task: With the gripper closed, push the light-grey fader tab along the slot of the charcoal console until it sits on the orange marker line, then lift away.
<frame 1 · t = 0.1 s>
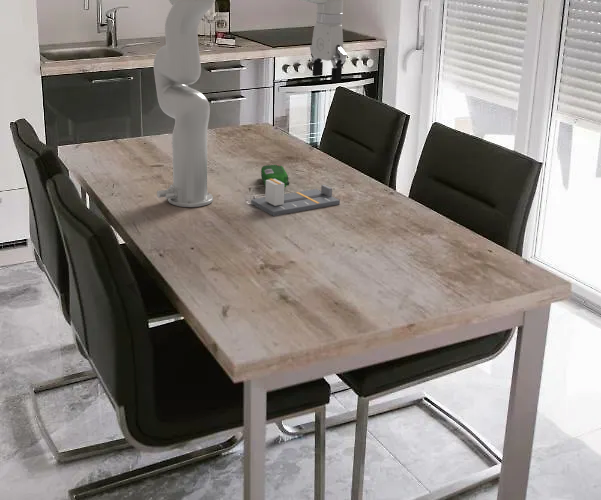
hand: (326, 78, 265), 31 cm above the table, fingers open, 9 cm apart
fader tab: (274, 191, 249), point 5 cm above the table, slide at 0.0 cm
snack package: (274, 186, 270), on the table
console: (295, 203, 254), on the table
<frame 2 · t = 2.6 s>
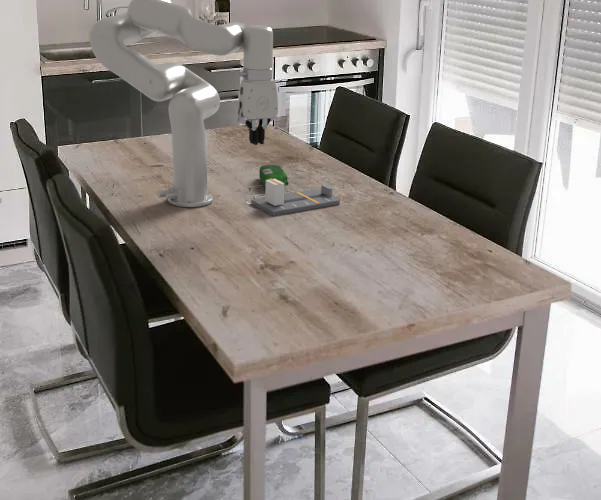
hand: (256, 143, 240), 19 cm above the table, fingers closed
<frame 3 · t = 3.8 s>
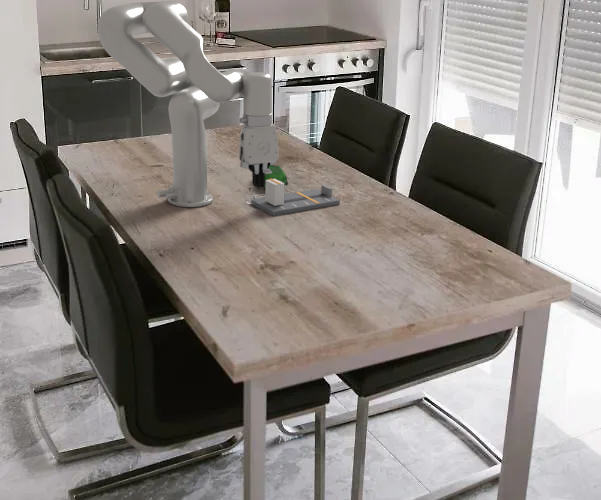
hand: (258, 186, 244), 7 cm above the table, fingers closed
nothing on the table moved.
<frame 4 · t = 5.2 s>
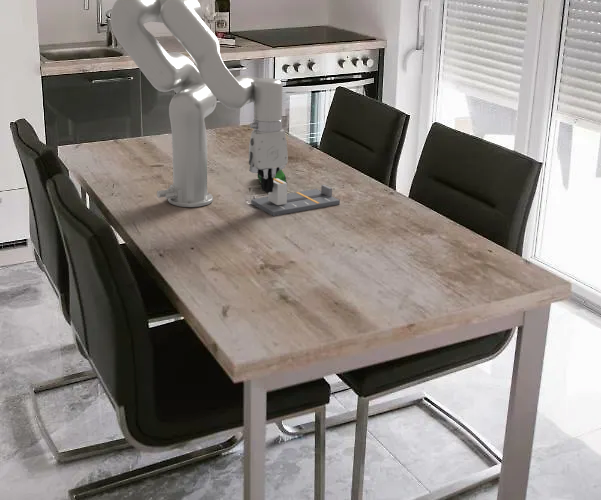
hand: (267, 191, 247), 5 cm above the table, fingers closed
fader tab: (277, 191, 249), point 5 cm above the table, slide at 0.9 cm, touching gripper
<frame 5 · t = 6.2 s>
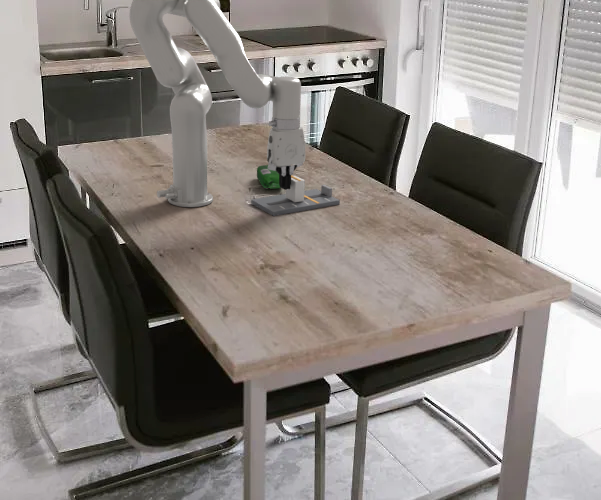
hand: (284, 188, 250), 5 cm above the table, fingers closed
fader tab: (295, 188, 252), point 5 cm above the table, slide at 6.7 cm, touching gripper
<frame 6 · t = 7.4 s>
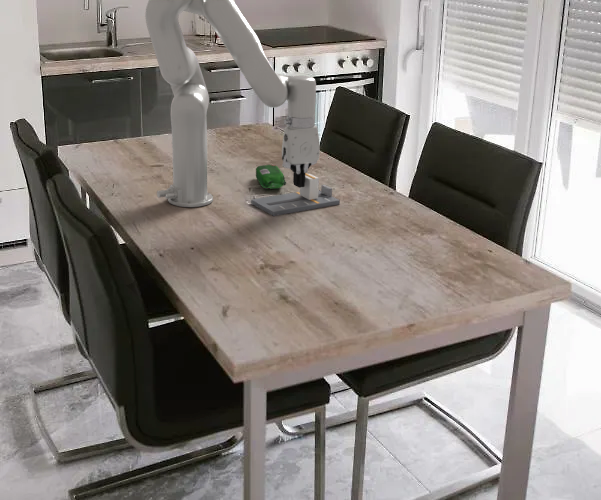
hand: (299, 185, 252), 5 cm above the table, fingers closed
fader tab: (309, 186, 255), point 5 cm above the table, slide at 11.4 cm, touching gripper
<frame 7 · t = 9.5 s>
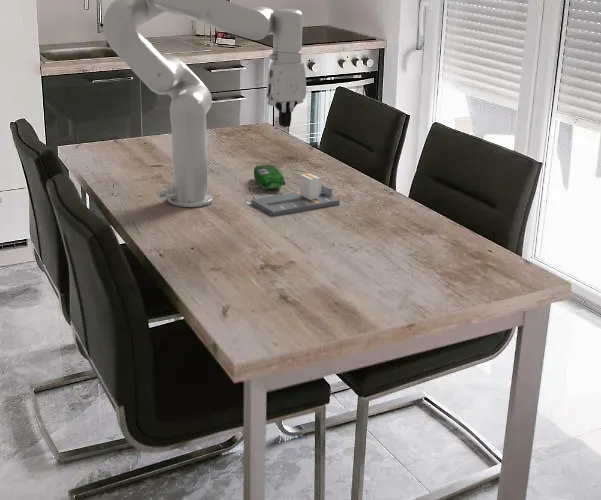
hand: (284, 125, 244), 23 cm above the table, fingers closed
fader tab: (309, 186, 255), point 5 cm above the table, slide at 11.6 cm
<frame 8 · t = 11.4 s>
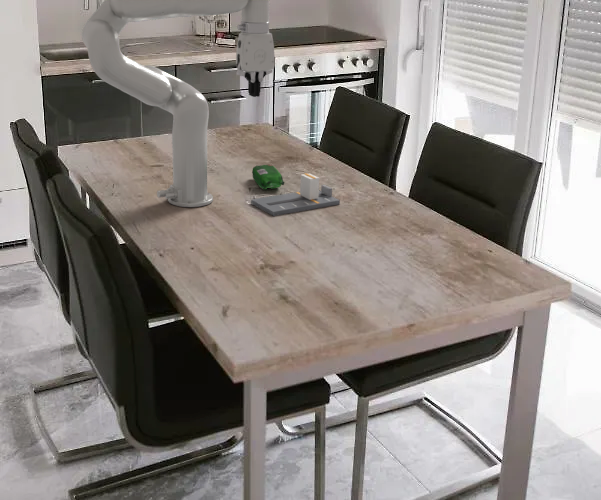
hand: (254, 95, 249), 29 cm above the table, fingers closed
at the end: fader tab slide at 11.6 cm; fader tab 0.6 cm from the target spot on the console, point 4.6 cm above the console's base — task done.
